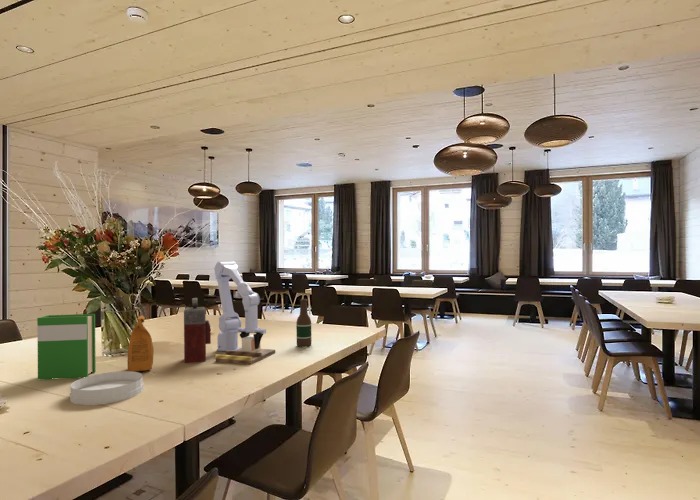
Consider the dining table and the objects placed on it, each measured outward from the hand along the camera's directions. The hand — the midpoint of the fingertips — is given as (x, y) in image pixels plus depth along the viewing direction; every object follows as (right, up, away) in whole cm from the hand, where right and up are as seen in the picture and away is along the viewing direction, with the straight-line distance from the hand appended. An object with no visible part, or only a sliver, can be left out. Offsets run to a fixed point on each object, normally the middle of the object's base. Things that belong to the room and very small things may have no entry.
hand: (251, 348), depth 200 cm
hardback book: (-66, -4, -32) cm, 73 cm away
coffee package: (-41, -4, -23) cm, 47 cm away
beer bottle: (+23, -3, +18) cm, 29 cm away
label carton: (0, -2, 0) cm, 2 cm away
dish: (-37, -4, -54) cm, 65 cm away
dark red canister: (-23, -4, -8) cm, 24 cm away
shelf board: (-1, -3, -4) cm, 5 cm away
